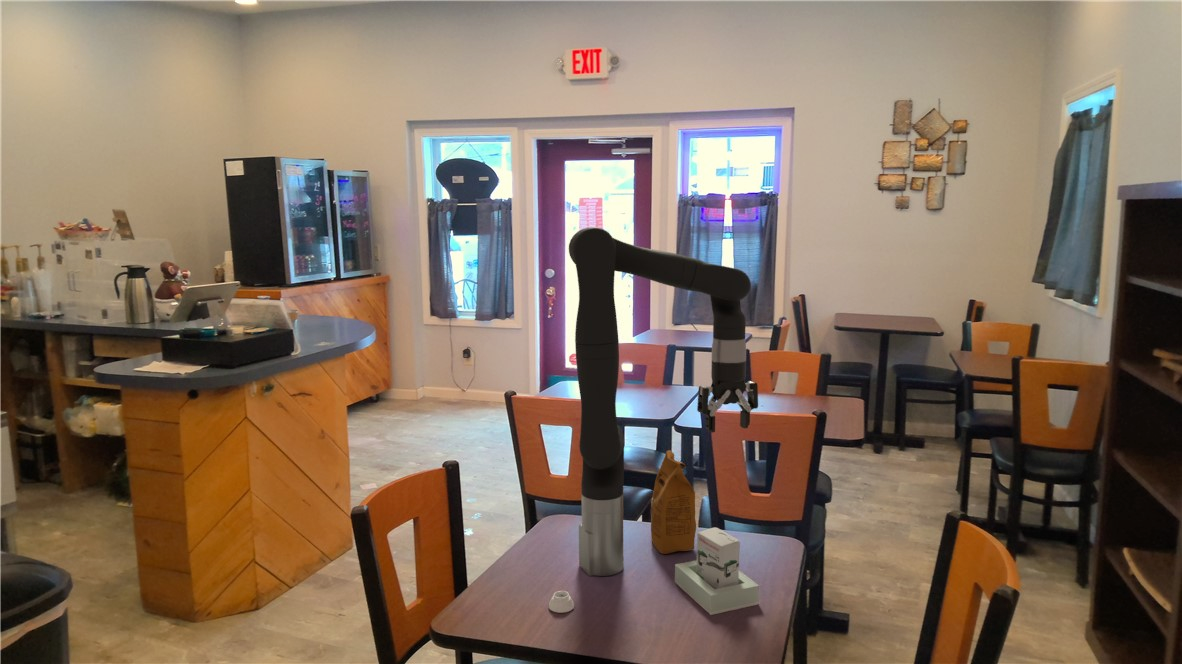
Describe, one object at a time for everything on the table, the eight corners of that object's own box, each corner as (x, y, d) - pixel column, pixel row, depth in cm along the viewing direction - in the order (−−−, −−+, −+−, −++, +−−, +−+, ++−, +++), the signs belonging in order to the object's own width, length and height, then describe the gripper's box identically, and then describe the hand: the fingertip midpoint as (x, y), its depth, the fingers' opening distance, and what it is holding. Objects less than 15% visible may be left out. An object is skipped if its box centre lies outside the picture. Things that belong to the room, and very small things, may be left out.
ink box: (694, 584, 160) (695, 530, 158) (713, 578, 162) (714, 525, 161) (720, 601, 152) (721, 545, 151) (740, 595, 155) (741, 540, 153)
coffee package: (686, 533, 188) (687, 447, 185) (699, 554, 176) (700, 462, 173) (646, 535, 187) (647, 448, 184) (656, 556, 175) (657, 464, 172)
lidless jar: (569, 600, 155) (545, 604, 153) (569, 586, 155) (545, 591, 153) (577, 611, 151) (553, 616, 149) (577, 597, 150) (553, 602, 148)
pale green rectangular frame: (710, 614, 148) (711, 595, 148) (674, 582, 162) (674, 564, 162) (758, 604, 152) (759, 585, 152) (719, 573, 166) (719, 555, 166)
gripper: (746, 353, 174) (745, 422, 176) (692, 358, 169) (691, 429, 171) (765, 358, 167) (764, 430, 169) (709, 363, 162) (708, 437, 164)
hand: (727, 429), depth 170 cm, fingers open, 8 cm apart
